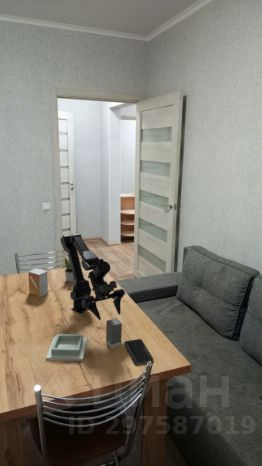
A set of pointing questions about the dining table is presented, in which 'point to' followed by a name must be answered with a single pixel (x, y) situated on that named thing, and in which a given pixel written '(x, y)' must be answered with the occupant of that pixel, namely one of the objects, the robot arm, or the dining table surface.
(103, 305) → the dining table surface
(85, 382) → the dining table surface
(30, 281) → the small box
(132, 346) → the phone
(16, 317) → the dining table surface
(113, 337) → the connector plug
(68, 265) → the house plant
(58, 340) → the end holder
